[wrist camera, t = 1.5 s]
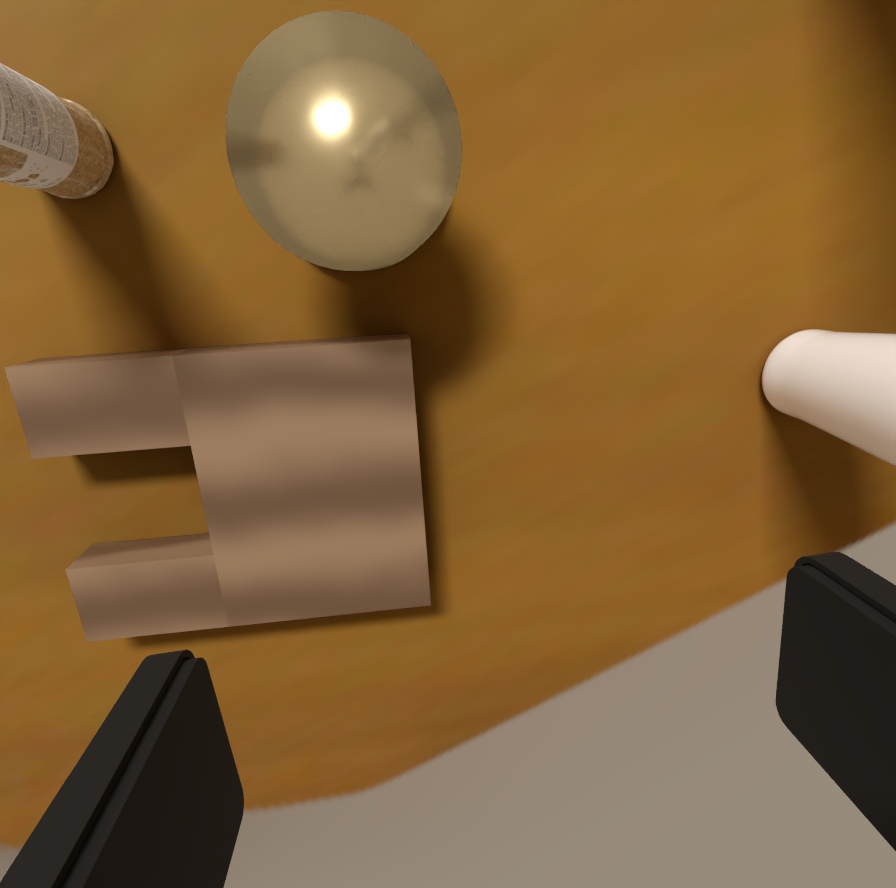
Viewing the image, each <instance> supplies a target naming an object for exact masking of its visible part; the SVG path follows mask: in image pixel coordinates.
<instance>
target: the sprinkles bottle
mask: <svg viewBox="0 0 896 888" xmlns="http://www.w3.org/2000/svg"><path fill="white" fill-rule="evenodd" d="M113 164H114V159H113V152H112V145H111V142H110V139H109V136H108V134H107V132H106V131H105V129H104V127H103V125H102V124H101V123H100V122H99V121H98V119H97V118H96V117H95V116H94V115H93V114H92V113H91V112H89V111H88V110H87V109H86V108H84V107H83V106H81V105H79V104H77V103H75V102H73V101H71V100H68V99H64V98H60V97H58V96H57V95H55V94H53V93H52V92H50V91H49V90H48V89H46V88H45V87H43V86H41V85H39V84H38V83H36V82H34V81H32V80H30V79H29V78H27V77H25V76H23V75H21V74H19V73H18V72H16V71H14V70H12V69H10V68H8V67H7V66H5V65H3V64H1V63H0V182H4V183H8V184H13V185H16V186H20V187H25V188H31V189H38V190H43V191H45V192H47V193H49V194H52V195H55V196H58V197H61V198H66V199H80V198H84V197H88V196H91V195H94V194H95V193H97V191H99V190H100V189H101V188H102V187H103V186H104V185H105V183H106V182H107V180H108V179H109V176H110V174H111V172H112V167H113Z"/></svg>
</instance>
